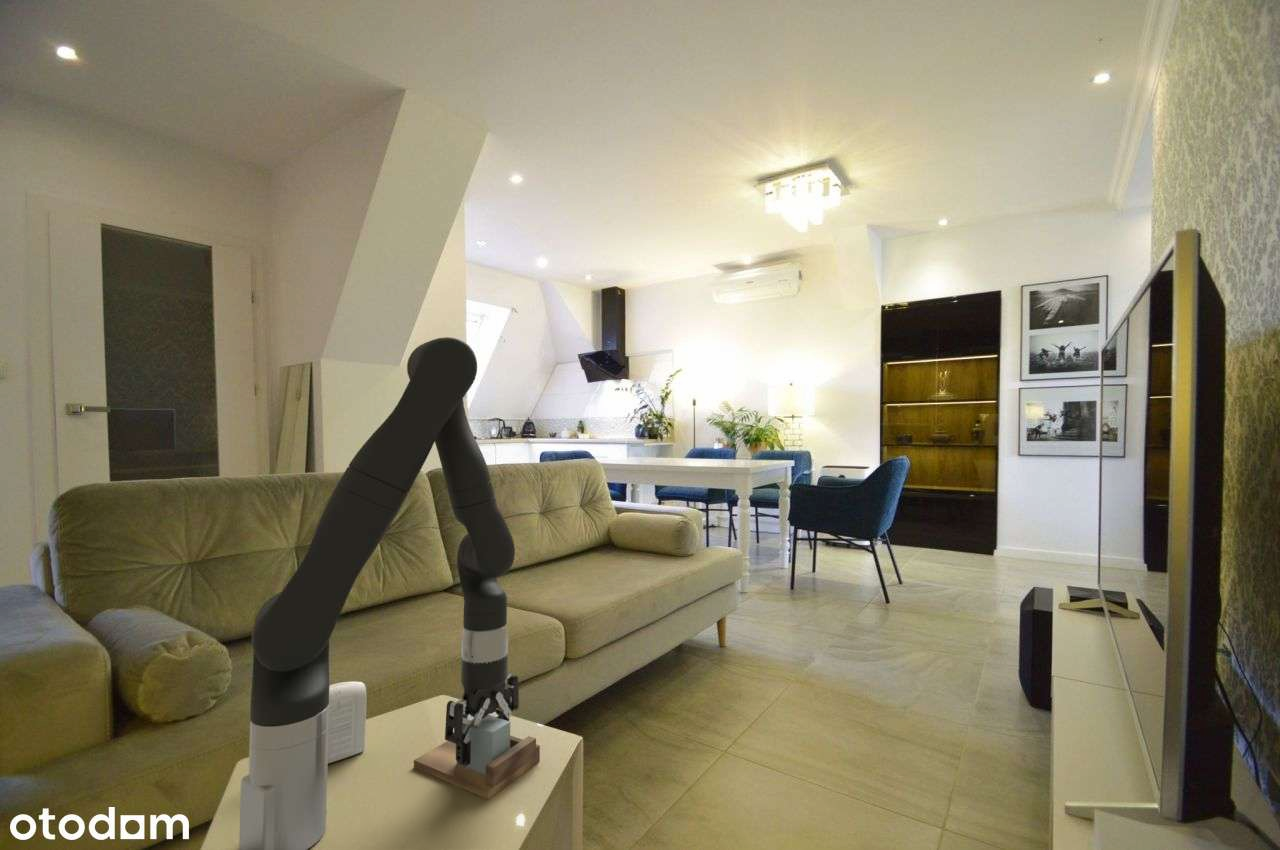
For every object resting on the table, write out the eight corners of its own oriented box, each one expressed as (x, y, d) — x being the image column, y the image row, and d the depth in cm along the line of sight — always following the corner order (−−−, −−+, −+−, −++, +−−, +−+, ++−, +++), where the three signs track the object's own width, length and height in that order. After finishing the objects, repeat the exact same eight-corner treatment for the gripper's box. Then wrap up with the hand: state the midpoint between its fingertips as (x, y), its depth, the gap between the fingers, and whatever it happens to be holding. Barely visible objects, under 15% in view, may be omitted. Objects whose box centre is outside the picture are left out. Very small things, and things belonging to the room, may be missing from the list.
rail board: (488, 799, 85) (488, 771, 85) (413, 767, 93) (414, 741, 93) (539, 761, 95) (539, 735, 95) (468, 735, 104) (468, 712, 104)
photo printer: (360, 742, 101) (362, 673, 102) (368, 751, 98) (370, 680, 99) (295, 764, 94) (297, 690, 95) (302, 775, 91) (304, 698, 92)
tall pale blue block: (492, 777, 88) (492, 732, 89) (456, 763, 92) (457, 720, 93) (509, 765, 92) (510, 721, 92) (474, 751, 96) (475, 710, 96)
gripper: (468, 671, 85) (466, 780, 84) (530, 643, 97) (529, 738, 97) (434, 662, 89) (432, 766, 88) (498, 635, 101) (497, 727, 100)
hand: (483, 751), depth 92 cm, fingers open, 8 cm apart
